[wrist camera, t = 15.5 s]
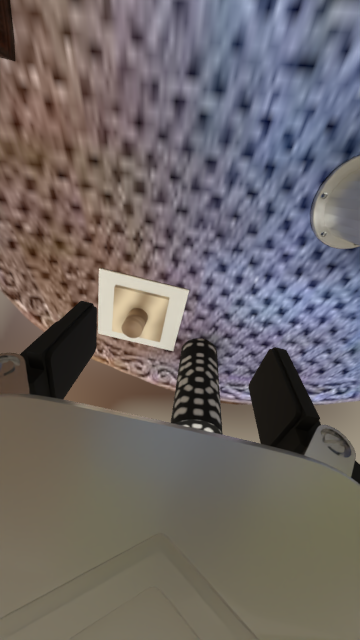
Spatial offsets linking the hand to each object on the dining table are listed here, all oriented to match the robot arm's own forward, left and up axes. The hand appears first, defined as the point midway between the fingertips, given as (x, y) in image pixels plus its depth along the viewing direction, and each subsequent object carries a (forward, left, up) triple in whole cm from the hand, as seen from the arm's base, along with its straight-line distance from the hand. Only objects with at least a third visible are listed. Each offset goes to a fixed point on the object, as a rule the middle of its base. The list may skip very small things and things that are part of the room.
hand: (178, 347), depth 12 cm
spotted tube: (-7, +25, -31) cm, 40 cm away
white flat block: (+8, +18, -30) cm, 36 cm away
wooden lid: (+8, +18, -30) cm, 36 cm away
